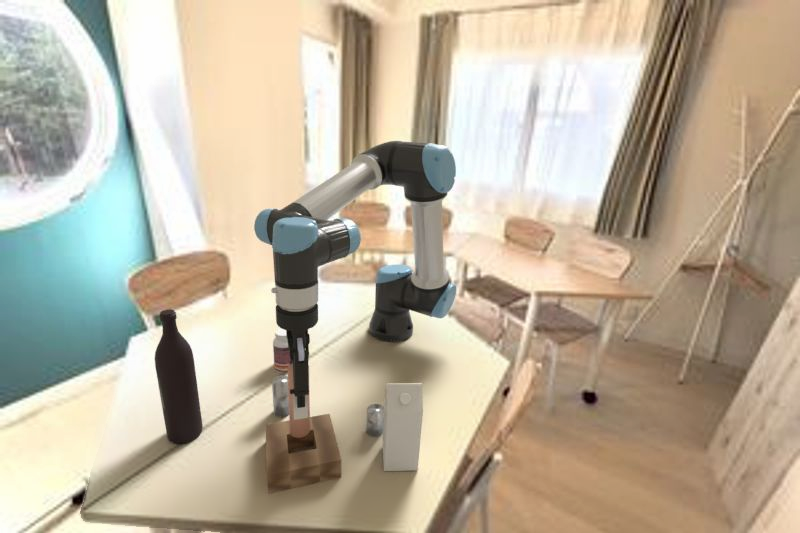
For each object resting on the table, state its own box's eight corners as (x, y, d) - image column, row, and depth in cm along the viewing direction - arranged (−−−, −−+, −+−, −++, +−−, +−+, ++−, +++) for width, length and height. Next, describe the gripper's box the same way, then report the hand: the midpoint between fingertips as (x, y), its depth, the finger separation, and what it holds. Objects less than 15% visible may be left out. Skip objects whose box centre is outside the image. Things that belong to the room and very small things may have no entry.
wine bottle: (190, 418, 96) (173, 301, 86) (209, 430, 93) (194, 310, 83) (160, 436, 90) (139, 313, 80) (180, 450, 87) (160, 323, 77)
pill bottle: (299, 368, 118) (298, 334, 114) (278, 374, 114) (276, 339, 111) (292, 357, 122) (290, 324, 119) (271, 363, 119) (269, 329, 115)
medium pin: (290, 405, 102) (288, 374, 99) (291, 415, 99) (290, 383, 96) (273, 407, 101) (271, 376, 98) (274, 418, 98) (272, 386, 95)
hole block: (329, 429, 95) (329, 413, 94) (341, 477, 83) (341, 459, 81) (266, 441, 91) (265, 424, 89) (268, 493, 78) (267, 475, 77)
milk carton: (382, 446, 91) (385, 373, 85) (413, 445, 92) (419, 373, 86) (383, 471, 85) (387, 395, 78) (417, 471, 85) (424, 394, 79)
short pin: (380, 423, 98) (381, 402, 96) (385, 435, 95) (386, 413, 93) (364, 426, 97) (364, 405, 95) (368, 438, 93) (369, 416, 91)
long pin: (308, 422, 86) (307, 360, 81) (311, 435, 83) (310, 371, 78) (289, 425, 85) (286, 363, 80) (290, 439, 82) (288, 374, 77)
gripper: (273, 287, 81) (277, 387, 89) (278, 327, 66) (282, 443, 74) (312, 284, 83) (313, 382, 91) (324, 322, 68) (325, 436, 76)
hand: (299, 409), depth 82 cm, fingers closed on long pin, 4 cm apart
